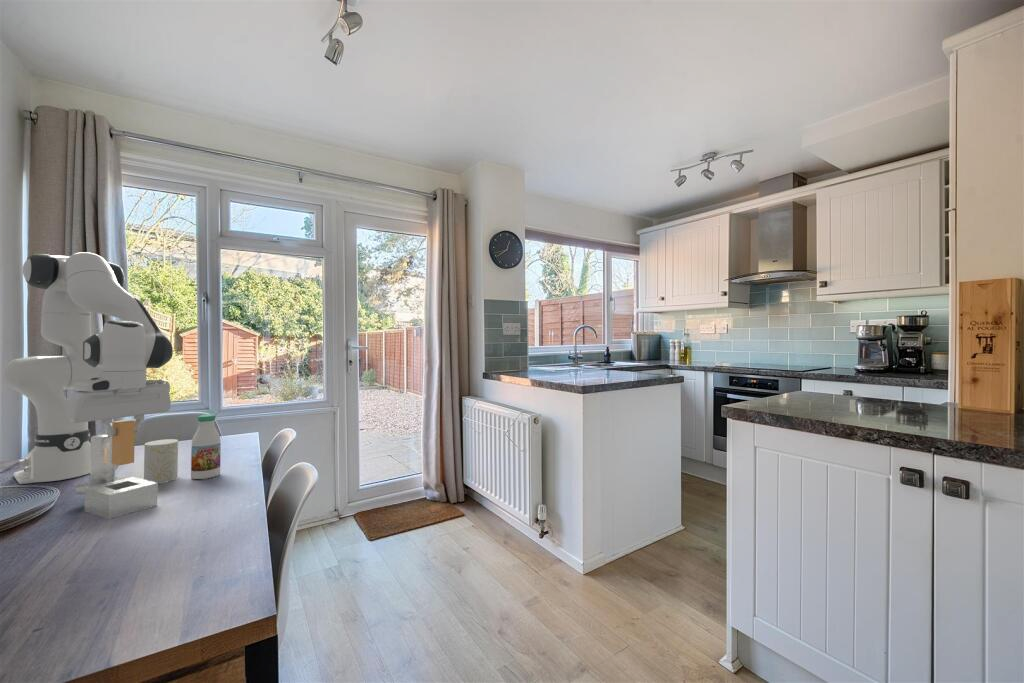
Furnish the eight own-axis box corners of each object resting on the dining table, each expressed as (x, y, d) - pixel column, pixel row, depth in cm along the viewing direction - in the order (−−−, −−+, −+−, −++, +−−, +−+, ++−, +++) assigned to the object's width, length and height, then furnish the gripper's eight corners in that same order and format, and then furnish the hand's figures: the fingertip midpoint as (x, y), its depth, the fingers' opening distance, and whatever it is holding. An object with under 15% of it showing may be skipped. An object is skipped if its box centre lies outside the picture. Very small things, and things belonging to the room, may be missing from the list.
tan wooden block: (111, 463, 107) (112, 421, 108) (125, 460, 110) (126, 419, 110) (119, 465, 106) (120, 422, 106) (134, 462, 109) (134, 420, 109)
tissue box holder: (67, 505, 109) (69, 437, 110) (115, 493, 119) (116, 430, 119) (108, 519, 101) (110, 446, 101) (157, 505, 110) (158, 438, 110)
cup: (147, 486, 125) (148, 446, 125) (140, 480, 130) (141, 442, 130) (180, 479, 131) (181, 441, 131) (173, 474, 136) (174, 438, 136)
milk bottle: (185, 477, 133) (186, 416, 133) (212, 471, 139) (213, 412, 140) (198, 481, 129) (199, 418, 129) (225, 475, 136) (226, 414, 136)
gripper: (163, 378, 119) (162, 426, 119) (65, 384, 100) (64, 441, 100) (176, 379, 117) (175, 428, 116) (77, 385, 98) (76, 443, 98)
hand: (123, 434), depth 108 cm, fingers closed on tan wooden block, 3 cm apart
